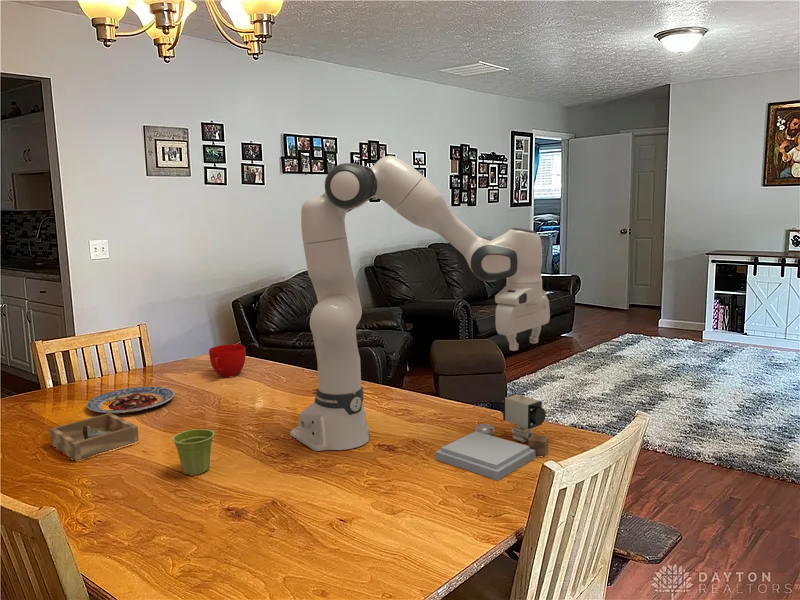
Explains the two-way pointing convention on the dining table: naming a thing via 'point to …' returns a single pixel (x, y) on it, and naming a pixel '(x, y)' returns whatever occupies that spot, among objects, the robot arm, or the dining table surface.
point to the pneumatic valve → (522, 415)
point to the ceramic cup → (227, 359)
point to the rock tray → (79, 448)
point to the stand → (486, 455)
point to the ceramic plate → (130, 399)
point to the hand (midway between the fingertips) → (524, 346)
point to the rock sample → (91, 432)
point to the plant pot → (194, 450)
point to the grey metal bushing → (485, 429)
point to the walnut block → (539, 444)
